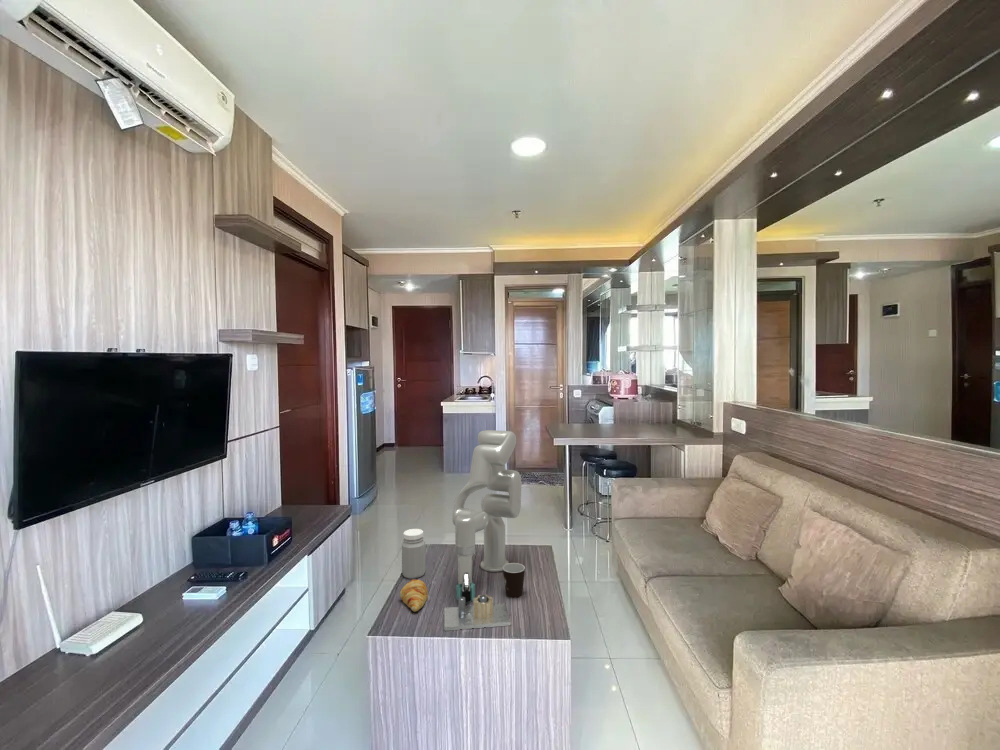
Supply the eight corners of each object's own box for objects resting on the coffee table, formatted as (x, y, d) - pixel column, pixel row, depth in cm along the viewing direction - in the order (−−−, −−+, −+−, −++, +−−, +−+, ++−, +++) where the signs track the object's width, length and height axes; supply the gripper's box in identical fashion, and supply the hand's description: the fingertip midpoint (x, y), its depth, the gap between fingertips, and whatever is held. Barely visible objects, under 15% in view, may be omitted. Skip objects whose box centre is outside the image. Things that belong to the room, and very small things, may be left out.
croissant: (424, 623, 151) (434, 601, 152) (398, 613, 148) (409, 592, 149) (419, 593, 171) (428, 574, 172) (396, 584, 169) (406, 565, 170)
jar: (416, 567, 188) (416, 526, 188) (430, 574, 181) (429, 531, 181) (397, 574, 181) (397, 532, 181) (410, 582, 174) (410, 537, 174)
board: (444, 611, 152) (444, 590, 152) (505, 606, 155) (505, 586, 155) (444, 630, 140) (444, 608, 140) (510, 625, 143) (510, 603, 143)
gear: (456, 594, 164) (456, 581, 164) (474, 592, 165) (474, 580, 165) (456, 603, 157) (456, 590, 157) (475, 602, 158) (475, 588, 158)
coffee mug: (523, 600, 159) (523, 573, 159) (500, 598, 160) (500, 571, 160) (527, 585, 170) (527, 560, 170) (506, 583, 172) (506, 559, 172)
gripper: (454, 541, 169) (455, 586, 169) (455, 559, 152) (456, 609, 152) (473, 540, 170) (474, 584, 170) (476, 558, 153) (477, 607, 153)
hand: (465, 596), depth 161 cm, fingers closed on gear, 6 cm apart
